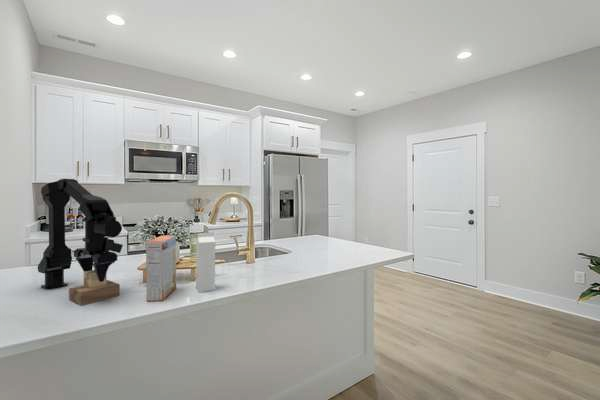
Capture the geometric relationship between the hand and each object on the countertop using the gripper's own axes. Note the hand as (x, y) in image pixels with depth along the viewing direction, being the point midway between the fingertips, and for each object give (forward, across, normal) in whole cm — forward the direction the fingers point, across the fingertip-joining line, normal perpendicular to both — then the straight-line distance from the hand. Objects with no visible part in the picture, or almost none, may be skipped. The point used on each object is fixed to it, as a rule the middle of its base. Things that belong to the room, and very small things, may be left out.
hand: (95, 279), depth 103 cm
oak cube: (+2, 0, 0) cm, 2 cm away
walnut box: (+6, 0, 0) cm, 7 cm away
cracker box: (+7, -16, -15) cm, 23 cm away
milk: (+7, -24, -28) cm, 37 cm away
